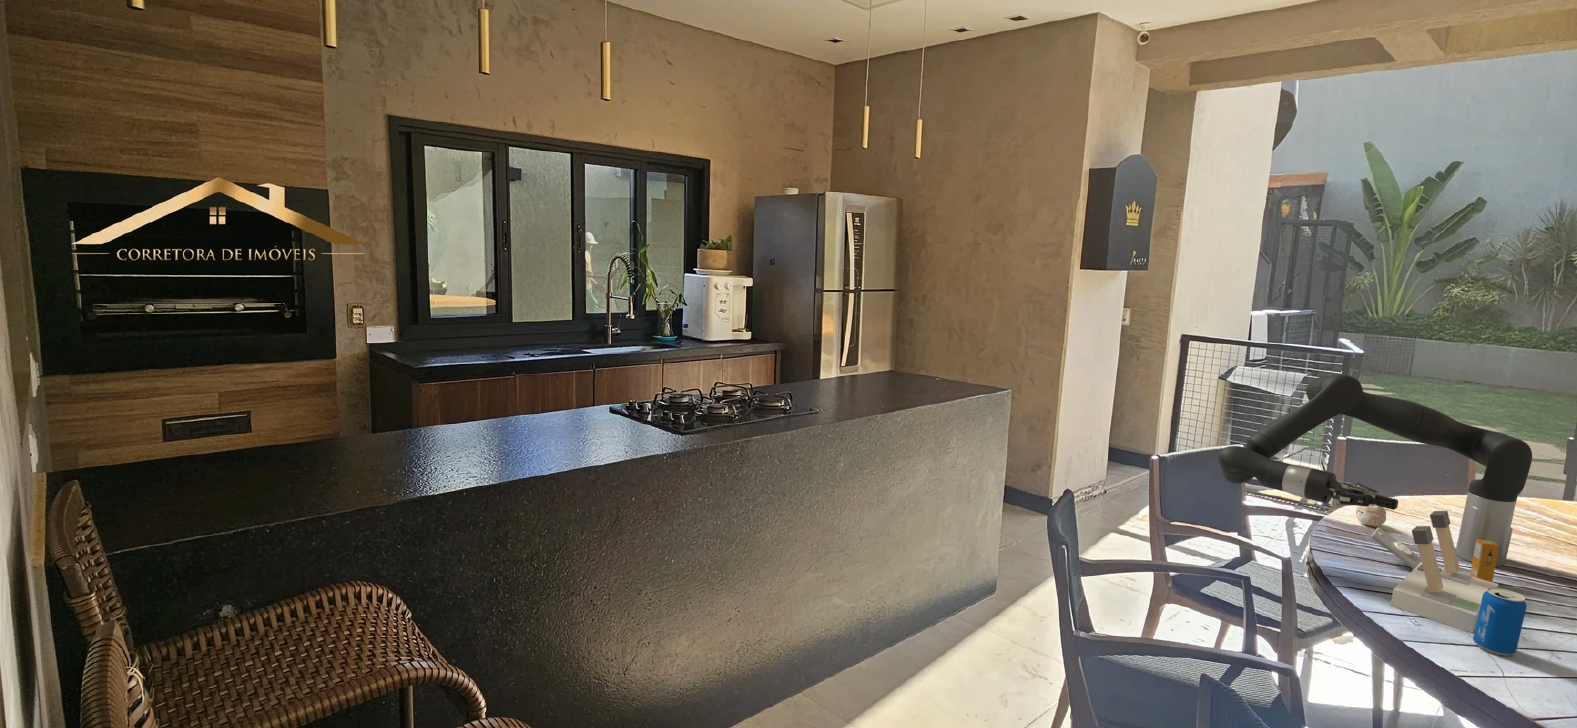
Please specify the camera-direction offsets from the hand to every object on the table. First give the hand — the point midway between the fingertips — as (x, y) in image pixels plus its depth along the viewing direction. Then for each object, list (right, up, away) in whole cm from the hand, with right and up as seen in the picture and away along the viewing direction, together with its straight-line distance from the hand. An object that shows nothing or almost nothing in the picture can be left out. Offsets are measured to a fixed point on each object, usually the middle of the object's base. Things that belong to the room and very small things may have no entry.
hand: (1396, 504), depth 172 cm
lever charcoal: (+18, -16, +6) cm, 25 cm away
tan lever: (+5, -18, -4) cm, 19 cm away
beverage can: (+6, -26, -17) cm, 32 cm away
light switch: (+17, -19, +22) cm, 34 cm away
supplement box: (+31, -21, +14) cm, 40 cm away
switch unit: (+12, -22, +2) cm, 25 cm away
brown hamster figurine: (+30, -15, +47) cm, 58 cm away
